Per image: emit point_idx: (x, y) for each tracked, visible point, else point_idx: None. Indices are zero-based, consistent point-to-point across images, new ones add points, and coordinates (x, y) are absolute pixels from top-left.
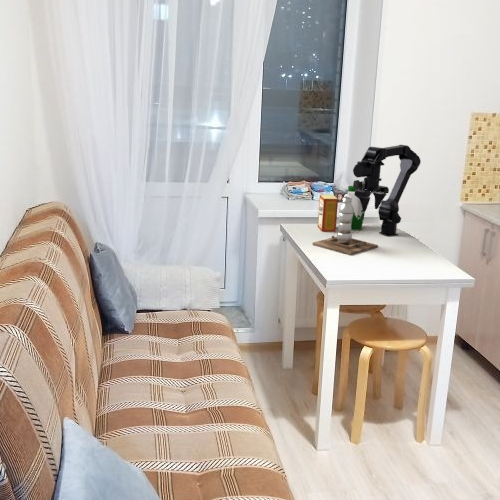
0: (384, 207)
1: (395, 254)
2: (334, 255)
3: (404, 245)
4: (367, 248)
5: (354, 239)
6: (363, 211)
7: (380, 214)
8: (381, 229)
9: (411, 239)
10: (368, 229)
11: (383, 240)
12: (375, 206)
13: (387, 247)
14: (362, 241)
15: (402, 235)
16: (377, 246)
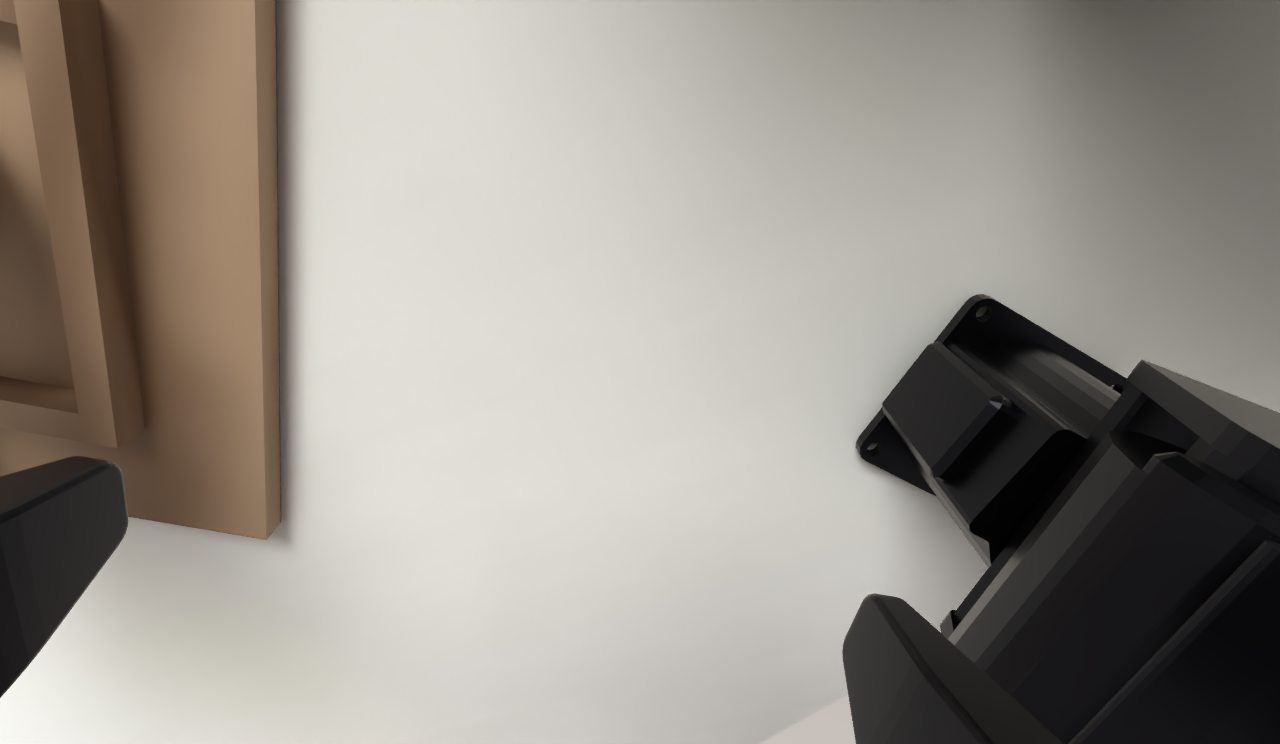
0: (1203, 741)
1: (203, 711)
2: None
3: (580, 679)
4: None
5: (62, 272)
6: (93, 468)
7: (1082, 494)
8: (947, 371)
9: None
10: (1168, 47)
11: (624, 468)
12: (893, 674)
13: (367, 593)
14: (87, 406)
15: None
16: (268, 526)
